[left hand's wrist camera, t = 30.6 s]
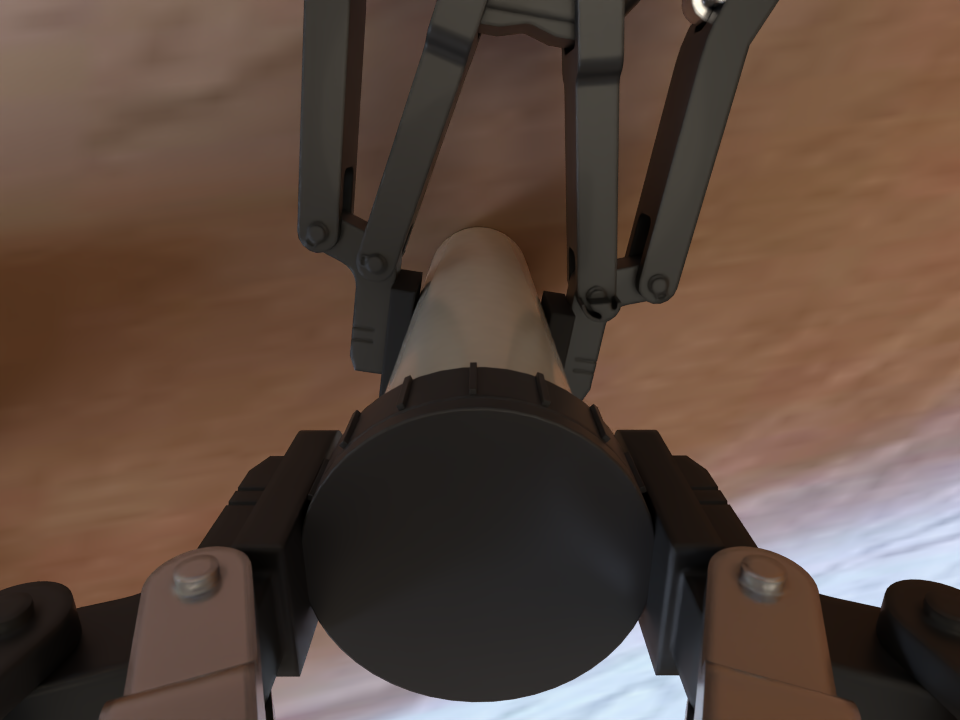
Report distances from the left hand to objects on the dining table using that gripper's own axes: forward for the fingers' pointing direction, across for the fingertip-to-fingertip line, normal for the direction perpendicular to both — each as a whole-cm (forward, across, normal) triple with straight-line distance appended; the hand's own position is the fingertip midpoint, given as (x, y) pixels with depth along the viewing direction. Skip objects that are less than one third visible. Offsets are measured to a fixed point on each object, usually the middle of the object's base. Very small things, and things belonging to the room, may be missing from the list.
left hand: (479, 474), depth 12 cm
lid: (-2, 0, 0) cm, 2 cm away
